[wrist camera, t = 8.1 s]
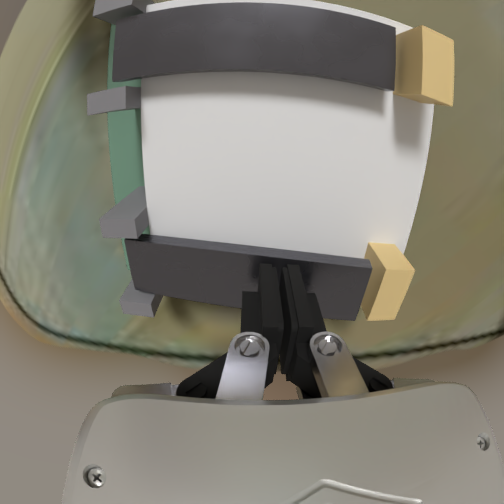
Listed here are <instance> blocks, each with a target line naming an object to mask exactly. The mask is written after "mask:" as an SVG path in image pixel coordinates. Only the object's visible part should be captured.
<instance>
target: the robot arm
mask: <svg viewBox="0 0 504 504" xmlns="http://www.w3.org/2000/svg"><path fill="white" fill-rule="evenodd" d="M279 354H280V364H281V373H282V374H286V381H291V382H292V383H293V384H295V385H296V386H297V387H296V390H297V394H298V397H299V400H263V393H264V388H266V387H267V386H268V385H269V384H270V383H272V382H273V377H274V374H276V370H277V364H278V359H279ZM62 504H504V466H503V462H502V458H501V455H500V452H499V448H498V445H497V442H496V439H495V436H494V433H493V430H492V428H491V425H490V423H489V420H488V418H487V416H486V414H485V411H484V409H483V407H482V405H481V403H480V402H479V400H478V398H477V397H476V395H475V394H474V392H473V391H472V390H471V389H470V388H468V387H467V386H465V385H463V384H459V383H454V382H443V381H440V382H435V381H433V380H429V379H406V378H393V379H392V380H389V379H388V378H387V377H386V376H385V375H383V374H381V373H379V372H378V371H376V370H374V369H372V368H371V367H369V366H367V365H366V364H364V363H362V362H360V361H359V360H357V359H355V358H354V357H352V356H351V354H350V352H349V349H348V347H347V345H346V343H345V342H344V340H343V339H342V338H341V337H340V336H339V335H337V334H335V333H331V332H327V331H326V328H325V324H324V321H323V317H322V314H321V310H320V307H319V303H318V300H317V297H316V294H315V293H306V290H305V287H304V283H303V279H302V275H301V271H300V268H299V265H292V264H287V265H286V267H282V269H281V277H280V285H279V283H278V276H277V269H276V267H272V264H260V265H259V279H258V292H251V291H242V312H241V333H240V334H238V335H236V336H235V337H234V338H233V339H232V341H231V343H230V347H229V350H228V352H227V353H226V354H224V355H223V356H221V357H220V358H218V359H217V360H215V361H213V362H212V363H210V364H209V365H207V366H206V367H204V368H203V369H201V370H199V371H198V372H196V373H195V374H193V375H192V376H190V377H188V378H187V379H185V380H184V381H182V382H181V383H180V384H179V385H171V383H163V384H147V385H125V386H120V387H119V388H117V389H116V390H115V391H114V392H113V393H112V397H111V398H108V399H105V400H103V401H101V402H99V403H97V404H96V405H95V406H94V407H93V408H92V409H91V410H90V411H89V413H88V414H87V416H86V418H85V420H84V422H83V424H82V426H81V429H80V431H79V434H78V436H77V439H76V442H75V445H74V449H73V452H72V456H71V459H70V463H69V467H68V472H67V476H66V481H65V486H64V491H63V497H62Z"/></svg>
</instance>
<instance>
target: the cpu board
mask: <svg viewBox="0 0 504 504" xmlns="http://www.w3.org/2000/svg"><path fill="white" fill-rule="evenodd" d="M232 2H257V3H277V4H289V5H299V6H307V7H314V8H320V9H326V10H332V11H337V12H342V13H346V14H351V15H355V16H359V17H363V18H366V19H370V20H374V21H377V22H380V23H384V24H387V25H390V26H393V27H396V70H395V89H394V91H383V90H379V89H375V88H371V87H367V86H362V85H358V84H353V83H348V82H342V81H337V80H331V79H325V78H318V77H310V76H302V75H293V74H281V73H267V72H200V73H185V74H174V75H165V76H157V77H149V78H143V79H136V80H131V81H125V82H112V69H113V51H114V39H115V28H116V20H119V19H122V18H126V17H130V16H134V15H138V14H143V13H147V12H152V11H157V10H163V9H168V8H175V7H182V6H190V5H199V4H211V3H232ZM93 17H96V18H98V19H101V20H104V21H106V22H109V23H111V32H110V43H109V57H108V81H107V90H103V91H99V92H94V93H90V94H87V115H94V114H100V113H107V112H108V136H109V151H110V162H111V172H112V181H113V190H114V197H115V204H116V205H115V206H114V207H113V208H112V209H110V210H109V211H108V212H107V213H106V214H104V215H103V216H102V217H101V218H100V219H99V221H100V226H101V231H102V236H103V238H121V240H122V245H123V250H124V254H125V259H126V264H127V268H128V270H130V266H129V261H128V257H127V252H126V247H125V241H124V239H125V238H130V239H138V238H139V236H140V235H141V234H150V235H159V236H168V237H178V238H187V239H196V240H205V241H214V242H223V243H232V244H241V245H250V246H259V247H268V248H276V249H285V250H294V251H302V252H311V253H320V254H328V255H337V256H345V257H353V258H362V259H369V260H370V263H371V266H372V268H373V269H372V272H371V275H370V279H369V282H368V285H367V288H366V291H365V294H364V297H363V300H362V303H361V307H362V309H363V311H364V314H365V316H366V319H367V321H374V320H394V319H395V317H396V315H397V313H398V311H399V308H400V306H401V304H402V301H403V299H404V297H405V294H406V292H407V290H408V287H409V285H410V282H411V280H412V277H413V274H414V272H415V269H414V268H413V267H412V265H411V264H410V263H409V262H408V260H407V259H406V258H405V256H404V255H403V254H404V251H405V247H406V244H407V241H408V238H409V234H410V231H411V227H412V224H413V220H414V216H415V212H416V208H417V204H418V200H419V196H420V192H421V187H422V182H423V178H424V173H425V167H426V162H427V156H428V150H429V143H430V136H431V129H432V120H433V110H434V104H436V105H445V106H452V107H453V92H454V41H453V40H452V39H450V38H448V37H446V36H444V35H442V34H440V33H438V32H436V31H434V30H432V29H429V28H427V27H425V26H423V25H421V26H418V27H415V28H412V27H410V26H407V25H404V24H402V23H399V22H396V21H393V20H391V19H388V18H385V17H381V16H378V15H375V14H372V13H368V12H364V11H361V10H357V9H353V8H349V7H344V6H340V5H335V4H330V3H325V2H319V1H313V0H173V1H167V2H161V3H156V4H155V3H154V2H153V1H151V0H95V5H94V11H93ZM162 297H163V295H158V294H153V293H148V292H143V291H138V290H135V287H134V283H133V279H132V280H131V282H130V284H129V285H128V287H127V288H126V290H125V292H124V293H123V295H122V297H121V298H120V300H119V301H120V304H121V307H122V310H123V313H125V314H132V315H139V316H147V317H154V316H155V314H156V311H157V309H158V307H159V304H160V302H161V300H162Z"/></svg>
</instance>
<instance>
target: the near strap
mask: <svg viewBox="0 0 504 504" xmlns="http://www.w3.org/2000/svg"><path fill="white" fill-rule="evenodd" d="M395 70H396V27H393V26H390V25H387V24H384V23H380V22H377V21H374V20H370V19H366V18H363V17H359V16H355V15H351V14H346V13H342V12H337V11H332V10H326V9H320V8H314V7H307V6H299V5H289V4H277V3H257V2H232V3H211V4H199V5H190V6H182V7H175V8H168V9H163V10H157V11H152V12H147V13H143V14H138V15H134V16H130V17H126V18H122V19H119V20H116V28H115V39H114V51H113V69H112V82H125V81H131V80H136V79H143V78H149V77H157V76H165V75H174V74H185V73H200V72H267V73H281V74H293V75H302V76H310V77H318V78H325V79H331V80H337V81H342V82H348V83H353V84H358V85H362V86H367V87H371V88H375V89H379V90H383V91H394V89H395Z"/></svg>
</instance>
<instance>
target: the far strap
mask: <svg viewBox="0 0 504 504" xmlns="http://www.w3.org/2000/svg"><path fill="white" fill-rule="evenodd" d="M124 241H125V247H126V252H127V257H128V261H129V266H130V270H131V275H132V279H133V283H134V287H135V290H138V291H143V292H148V293H153V294H158V295H164V296H169V297H175V298H180V299H186V300H192V301H197V302H203V303H210V304H216V305H222V306H229V307H236V308H242V291H251V292H258V279H259V265H260V264H272V267H276V269H277V276H278V283H279V285H280V277H281V269H282V267H286V265H287V264H292V265H299V268H300V271H301V275H302V279H303V283H304V287H305V290H306V293H315V294H316V297H317V300H318V303H319V307H320V310H321V314H322V317H323V318H328V319H339V320H352V321H355V319H356V316H357V314H358V311H359V308H360V305H361V303H362V300H363V297H364V294H365V291H366V288H367V285H368V282H369V279H370V275H371V272H372V269H373V268H372V266H371V263H370V260H369V259H362V258H353V257H345V256H337V255H328V254H320V253H311V252H302V251H294V250H285V249H276V248H268V247H259V246H250V245H241V244H232V243H223V242H214V241H205V240H196V239H187V238H178V237H168V236H159V235H150V234H141V235H140V236H139V238H138V239H130V238H125V239H124Z"/></svg>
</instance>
